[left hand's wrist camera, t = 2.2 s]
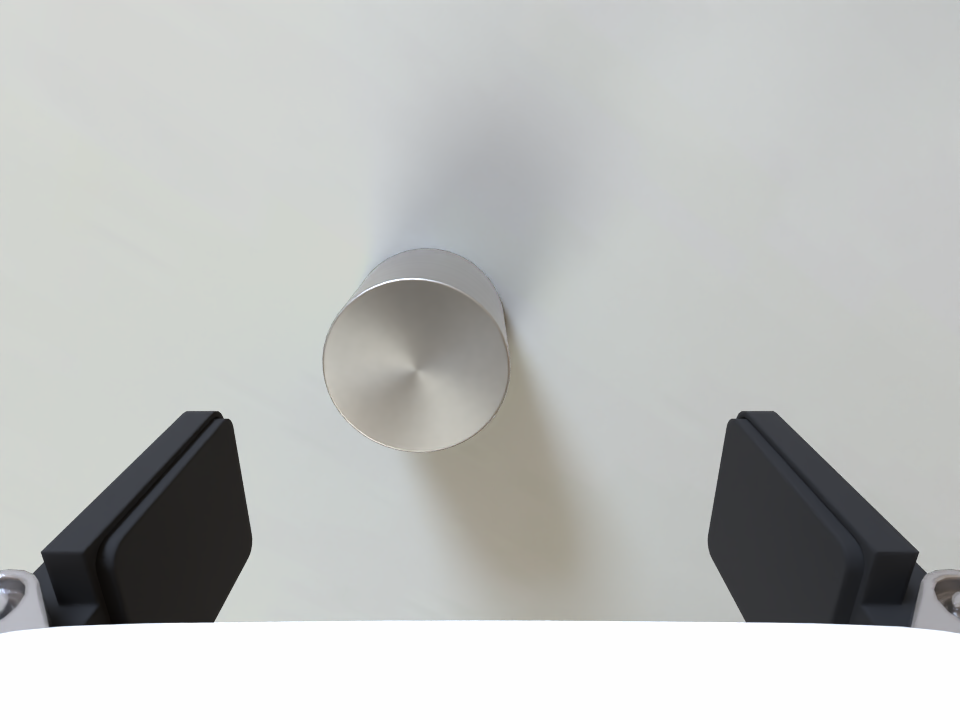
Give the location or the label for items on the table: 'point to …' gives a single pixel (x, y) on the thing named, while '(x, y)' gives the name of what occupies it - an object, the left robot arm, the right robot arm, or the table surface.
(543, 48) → the table surface
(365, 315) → the canister
